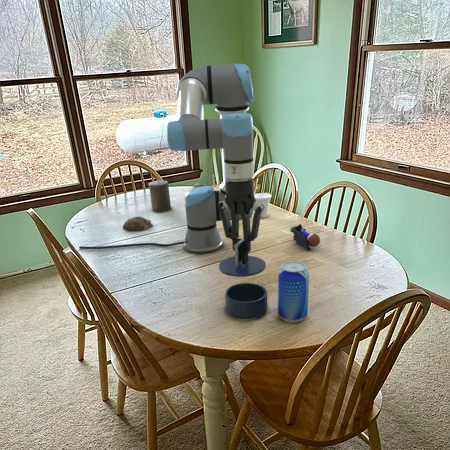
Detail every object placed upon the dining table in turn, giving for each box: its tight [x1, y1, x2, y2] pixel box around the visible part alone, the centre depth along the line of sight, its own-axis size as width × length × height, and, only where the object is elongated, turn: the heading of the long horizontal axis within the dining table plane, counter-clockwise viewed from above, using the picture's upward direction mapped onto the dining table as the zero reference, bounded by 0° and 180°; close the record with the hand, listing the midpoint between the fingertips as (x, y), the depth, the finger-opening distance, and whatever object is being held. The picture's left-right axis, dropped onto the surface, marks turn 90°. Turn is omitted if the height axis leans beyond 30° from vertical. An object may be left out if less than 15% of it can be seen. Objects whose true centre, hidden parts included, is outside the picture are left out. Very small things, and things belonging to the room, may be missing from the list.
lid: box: [218, 236, 267, 278], centre depth 124 cm, size 13×13×9 cm
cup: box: [255, 192, 272, 219], centre depth 206 cm, size 9×9×10 cm
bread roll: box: [122, 216, 154, 232], centre depth 203 cm, size 13×12×5 cm
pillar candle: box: [148, 180, 172, 213], centre depth 222 cm, size 10×10×15 cm
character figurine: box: [289, 223, 321, 252], centre depth 172 cm, size 8×7×15 cm
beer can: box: [277, 260, 310, 324], centre depth 124 cm, size 8×8×16 cm
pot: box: [224, 282, 268, 320], centre depth 131 cm, size 12×12×6 cm
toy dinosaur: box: [191, 182, 205, 189], centre depth 231 cm, size 22×8×11 cm, turn 5°
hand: (242, 261), depth 125 cm, fingers closed on lid
